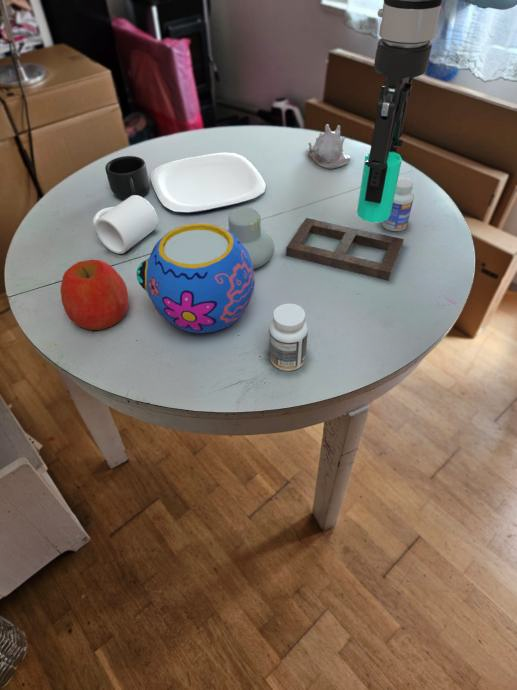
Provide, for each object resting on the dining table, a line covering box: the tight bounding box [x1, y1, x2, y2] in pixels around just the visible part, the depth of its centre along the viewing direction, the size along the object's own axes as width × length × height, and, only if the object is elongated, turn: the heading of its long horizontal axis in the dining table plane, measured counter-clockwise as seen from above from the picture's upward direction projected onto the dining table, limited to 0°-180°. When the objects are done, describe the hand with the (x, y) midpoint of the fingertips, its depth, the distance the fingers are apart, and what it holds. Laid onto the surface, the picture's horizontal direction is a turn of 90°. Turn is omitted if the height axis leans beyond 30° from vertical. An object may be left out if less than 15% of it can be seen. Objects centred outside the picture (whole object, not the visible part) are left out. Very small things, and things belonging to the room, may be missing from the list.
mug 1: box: [105, 155, 150, 200], centre depth 108 cm, size 12×9×7 cm
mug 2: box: [92, 195, 159, 255], centre depth 96 cm, size 12×10×8 cm
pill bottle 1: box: [268, 303, 309, 372], centre depth 71 cm, size 6×6×10 cm
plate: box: [149, 152, 267, 214], centre depth 112 cm, size 25×25×2 cm
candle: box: [356, 152, 403, 223], centre depth 81 cm, size 6×6×12 cm
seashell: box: [307, 123, 351, 170], centre depth 117 cm, size 10×12×9 cm
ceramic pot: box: [136, 223, 256, 334], centre depth 77 cm, size 18×18×15 cm
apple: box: [60, 258, 129, 331], centre depth 79 cm, size 11×11×11 cm
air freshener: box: [227, 207, 275, 270], centre depth 89 cm, size 11×8×10 cm
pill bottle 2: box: [381, 177, 415, 232], centre depth 96 cm, size 5×5×10 cm
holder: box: [285, 217, 405, 281], centre depth 93 cm, size 21×11×2 cm, turn 66°
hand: (377, 191), depth 83 cm, fingers closed on candle, 6 cm apart
